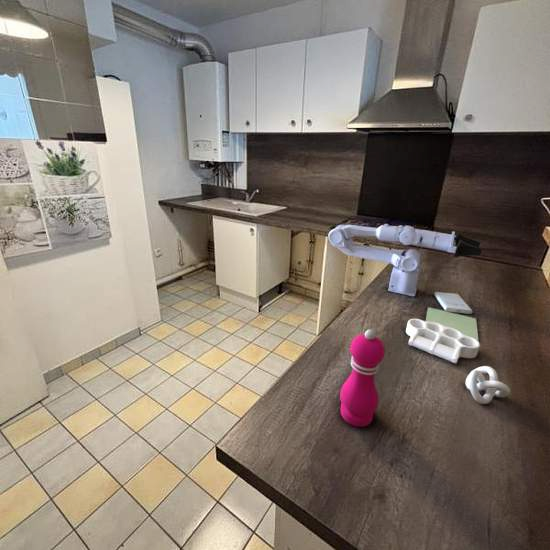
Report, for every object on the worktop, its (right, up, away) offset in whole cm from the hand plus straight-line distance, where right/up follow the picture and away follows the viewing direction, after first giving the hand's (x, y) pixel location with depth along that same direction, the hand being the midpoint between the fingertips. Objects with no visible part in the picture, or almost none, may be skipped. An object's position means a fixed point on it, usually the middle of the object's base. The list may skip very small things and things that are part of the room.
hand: (480, 248), depth 96 cm
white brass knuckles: (-23, -28, -15) cm, 39 cm away
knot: (-23, -35, -32) cm, 53 cm away
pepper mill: (-52, -37, -37) cm, 73 cm away
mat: (-13, -24, -4) cm, 27 cm away
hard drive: (-5, -19, +7) cm, 21 cm away
